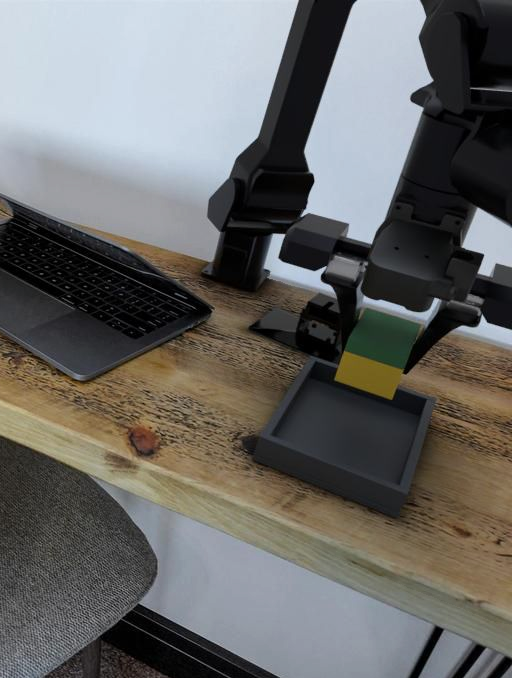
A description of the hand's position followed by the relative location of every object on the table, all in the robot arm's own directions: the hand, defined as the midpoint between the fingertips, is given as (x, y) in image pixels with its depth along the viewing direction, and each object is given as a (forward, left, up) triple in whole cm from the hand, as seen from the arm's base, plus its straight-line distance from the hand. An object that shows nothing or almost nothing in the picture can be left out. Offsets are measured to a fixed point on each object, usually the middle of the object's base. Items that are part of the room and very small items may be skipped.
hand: (374, 362), depth 68 cm
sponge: (0, 0, -1) cm, 1 cm away
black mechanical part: (-13, -6, -6) cm, 16 cm away
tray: (+3, 0, -6) cm, 7 cm away
